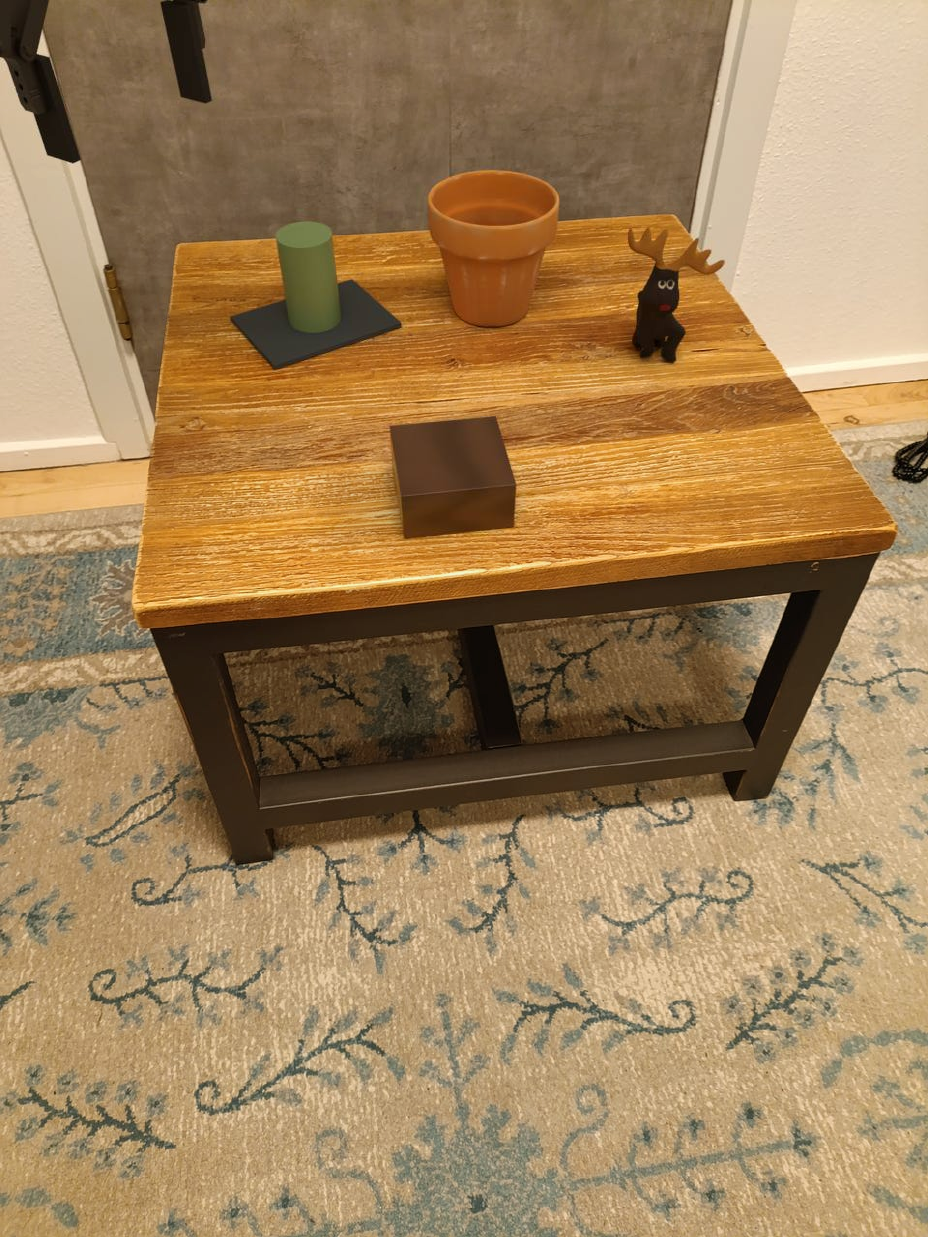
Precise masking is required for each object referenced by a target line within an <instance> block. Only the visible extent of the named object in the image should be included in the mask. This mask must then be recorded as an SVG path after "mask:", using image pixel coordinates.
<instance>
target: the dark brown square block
mask: <svg viewBox="0 0 928 1237" xmlns="http://www.w3.org/2000/svg"><path fill="white" fill-rule="evenodd" d="M389 439H390V452H391V453H390V454H391V464H392V465H391V466H392V474H393V479H394V486H395V491H396V497H397V504H398V511H399V517H400V522H401V528H402V535H403V539H414V538H422V537H423V538H424V537H431V536H433V537H434V536H440V535H441V536H443V535H450V534H451V535H452V534H460V533H471V532H480V531H488V530H496V529H497V530H498V529H508V528H514V527H515V515H516V498H517V482H516V479H515V476H514V472H513V468H512V466H511V462H510V459H509V455H508V452H507V449H506V445H505V441H504V438H503V435H502V431H501V429H500V425H499V421H498V418H497V416H496V415H491V416H480V417H469V418H459V419H449V420H448V419H447V420H438V421H428V422H418V423H415V422H414V423H406V424H396V425H389Z"/></svg>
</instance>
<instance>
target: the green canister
mask: <svg viewBox="0 0 928 1237" xmlns="http://www.w3.org/2000/svg"><path fill="white" fill-rule="evenodd" d="M275 242H276V249H277V254H278V260H279V261H278V262H279V267H280V273H281V280H282V286H283V291H284V296H285V297H284V298H285V299H286V305H287V311H288V317H289V323H290V325H291V326H292V327H293V328H294V329H296V330H298V331H301V332H305V333H320V332H325V331H328V330H331V329H333V328H334V327H336V326H337V325H338V324H339V323H340V321H341V308H340V300H339V291H338V283H339V282H338V273H337V265H336V257H335V256H336V255H335V247H334V238H333V231H332V229H331V228H330V227H329V226H328V225H326V224H324V223H321V222H317V221H309V220H308V221H307V220H306V221H297V222H292V223H288V224H286V225H283V226H282V227H281V228H279V229H278V230H277V231H276V233H275ZM285 299H284V300H285Z"/></svg>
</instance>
